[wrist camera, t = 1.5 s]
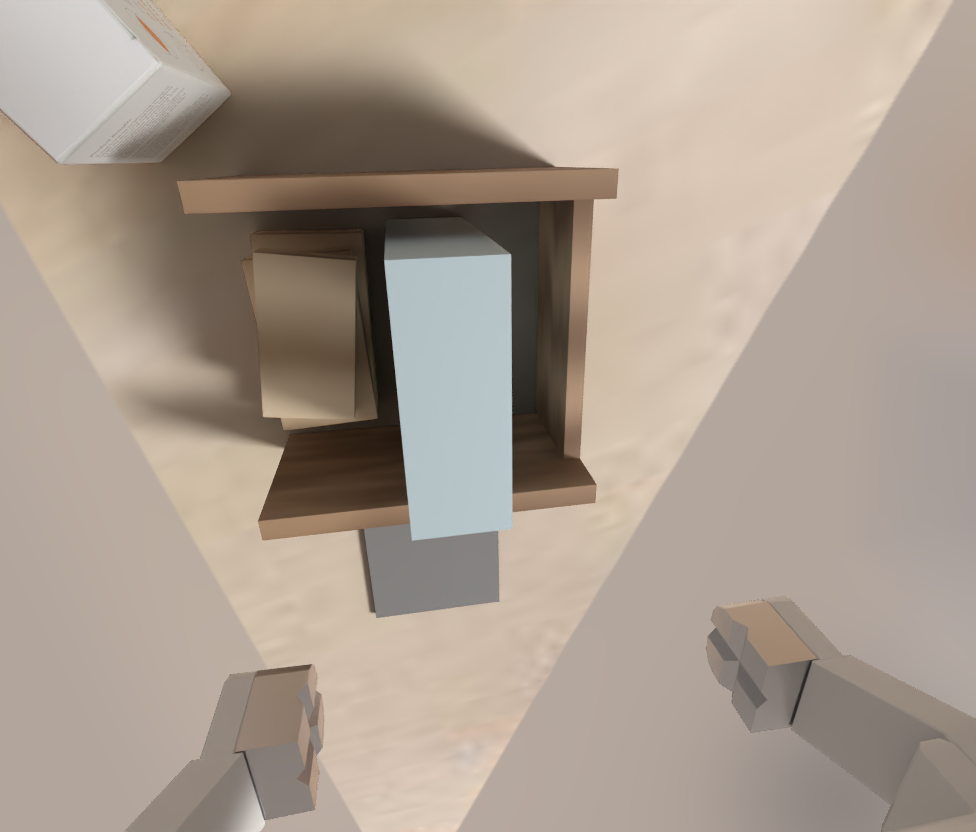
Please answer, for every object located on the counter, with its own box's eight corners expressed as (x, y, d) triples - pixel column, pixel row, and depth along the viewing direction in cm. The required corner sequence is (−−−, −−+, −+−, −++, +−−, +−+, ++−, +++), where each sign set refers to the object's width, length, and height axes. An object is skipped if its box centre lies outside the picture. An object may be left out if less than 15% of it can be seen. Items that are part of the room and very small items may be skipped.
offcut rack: (239, 175, 30) (176, 181, 22) (556, 166, 33) (618, 168, 24) (292, 450, 38) (262, 540, 29) (549, 426, 40) (595, 502, 31)
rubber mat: (355, 462, 39) (354, 466, 38) (495, 448, 40) (496, 452, 40) (376, 613, 45) (376, 618, 44) (498, 597, 46) (499, 601, 46)
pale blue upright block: (386, 219, 33) (384, 260, 19) (461, 216, 33) (511, 254, 20) (403, 405, 38) (411, 540, 24) (469, 400, 38) (512, 528, 25)
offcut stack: (253, 230, 32) (228, 243, 27) (363, 229, 33) (359, 240, 28) (282, 406, 37) (266, 443, 32) (379, 400, 38) (377, 435, 33)
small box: (19, 21, 26) (-187, -57, 17) (99, -64, 26) (-70, -196, 16) (161, 167, 30) (55, 169, 20) (236, 96, 29) (162, 64, 20)
